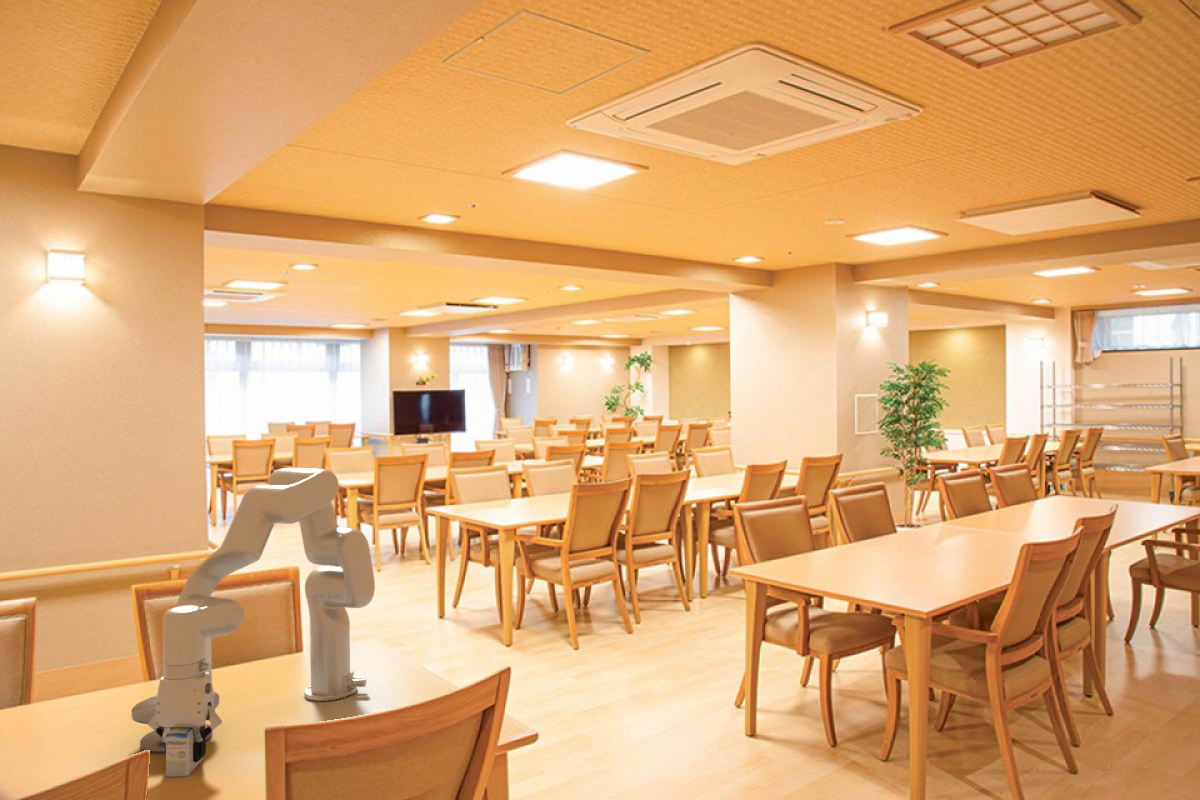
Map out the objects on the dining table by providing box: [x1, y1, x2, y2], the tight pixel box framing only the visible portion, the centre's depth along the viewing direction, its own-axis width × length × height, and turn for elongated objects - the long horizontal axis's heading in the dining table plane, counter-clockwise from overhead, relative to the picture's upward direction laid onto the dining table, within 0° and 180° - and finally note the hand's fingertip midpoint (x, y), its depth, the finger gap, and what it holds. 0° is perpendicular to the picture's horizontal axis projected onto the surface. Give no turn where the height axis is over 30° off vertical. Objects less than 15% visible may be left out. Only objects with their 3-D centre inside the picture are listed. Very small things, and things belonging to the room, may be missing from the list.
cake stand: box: [131, 690, 220, 755], centre depth 178 cm, size 17×17×8 cm
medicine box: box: [165, 728, 205, 778], centre depth 164 cm, size 8×4×9 cm, turn 5°
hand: (185, 758), depth 164 cm, fingers closed on medicine box, 4 cm apart
